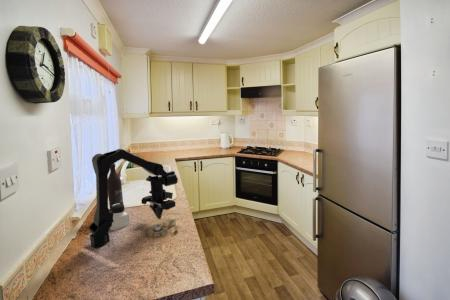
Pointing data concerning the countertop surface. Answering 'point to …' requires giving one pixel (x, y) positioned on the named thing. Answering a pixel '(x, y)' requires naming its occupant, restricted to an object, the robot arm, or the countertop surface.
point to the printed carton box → (119, 217)
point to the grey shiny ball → (157, 228)
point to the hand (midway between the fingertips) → (159, 218)
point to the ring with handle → (162, 227)
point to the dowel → (176, 228)
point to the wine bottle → (114, 187)
